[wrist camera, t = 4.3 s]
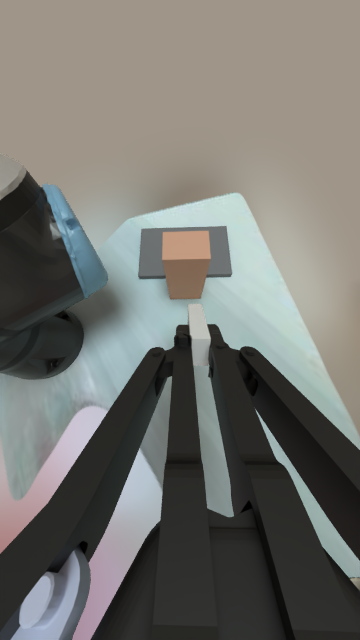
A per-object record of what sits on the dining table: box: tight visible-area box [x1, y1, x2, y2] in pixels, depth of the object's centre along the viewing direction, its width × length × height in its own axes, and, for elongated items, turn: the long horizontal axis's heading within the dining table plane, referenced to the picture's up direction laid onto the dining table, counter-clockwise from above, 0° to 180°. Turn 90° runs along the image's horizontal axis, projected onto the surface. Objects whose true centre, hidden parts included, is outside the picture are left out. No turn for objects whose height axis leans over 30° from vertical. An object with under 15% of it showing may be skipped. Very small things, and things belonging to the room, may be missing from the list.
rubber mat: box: [138, 226, 232, 279], centre depth 38 cm, size 22×14×1 cm, turn 91°
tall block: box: [162, 231, 211, 299], centre depth 29 cm, size 7×5×14 cm
